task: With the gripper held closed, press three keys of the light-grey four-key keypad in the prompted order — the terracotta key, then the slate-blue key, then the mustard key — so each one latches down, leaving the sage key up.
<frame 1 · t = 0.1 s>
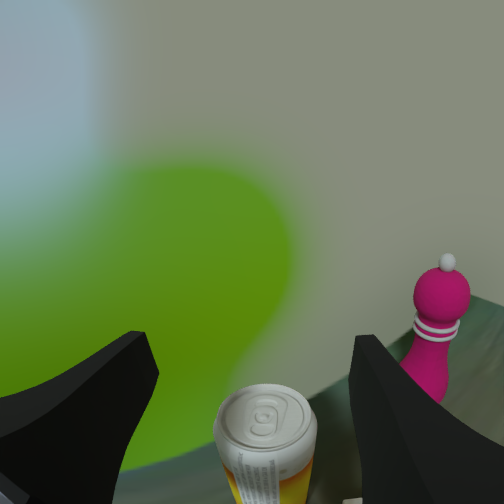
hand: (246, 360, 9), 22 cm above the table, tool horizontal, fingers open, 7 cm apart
pepper mill: (409, 411, 27), on the table
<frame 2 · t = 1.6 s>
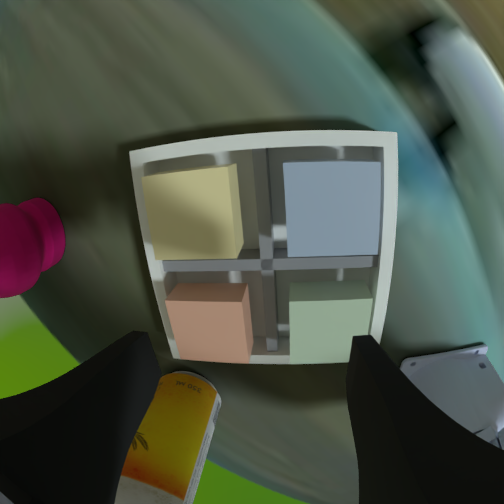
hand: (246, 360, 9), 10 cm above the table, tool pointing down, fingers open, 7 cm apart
sage key: (327, 323, 16), point 3 cm above the table, slide at 0.0 cm
keypad base: (269, 251, 18), on the table
slate-blue key: (331, 205, 14), point 3 cm above the table, slide at 0.0 cm
pepper mill: (44, 230, 21), on the table
mustard key: (194, 211, 15), point 3 cm above the table, slide at 0.0 cm
terracotta key: (212, 323, 17), point 3 cm above the table, slide at 0.0 cm
beer can: (191, 387, 25), on the table
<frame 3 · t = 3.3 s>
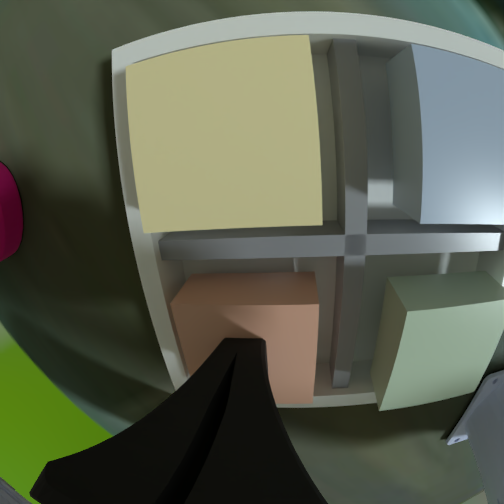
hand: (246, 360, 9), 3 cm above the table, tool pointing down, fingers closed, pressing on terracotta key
sage key: (439, 341, 9), point 3 cm above the table, slide at 0.0 cm
keypad base: (344, 226, 10), on the table
slate-blue key: (469, 139, 6), point 3 cm above the table, slide at 0.0 cm
pepper mill: (1, 207, 13), on the table
mustard key: (227, 134, 7), point 3 cm above the table, slide at 0.0 cm
terracotta key: (252, 341, 10), point 2 cm above the table, slide at 0.6 cm, touching gripper
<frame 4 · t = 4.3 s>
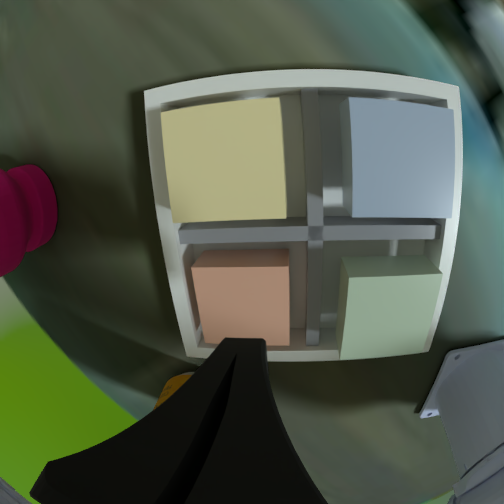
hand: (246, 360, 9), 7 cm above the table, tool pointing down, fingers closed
sage key: (385, 307, 13), point 3 cm above the table, slide at 0.0 cm
keypad base: (312, 221, 15), on the table
slate-blue key: (398, 157, 10), point 3 cm above the table, slide at 0.0 cm
pepper mill: (34, 204, 17), on the table
mustard key: (227, 160, 11), point 3 cm above the table, slide at 0.0 cm
terracotta key: (245, 298, 15), point 2 cm above the table, slide at 1.2 cm
beer can: (204, 391, 21), on the table
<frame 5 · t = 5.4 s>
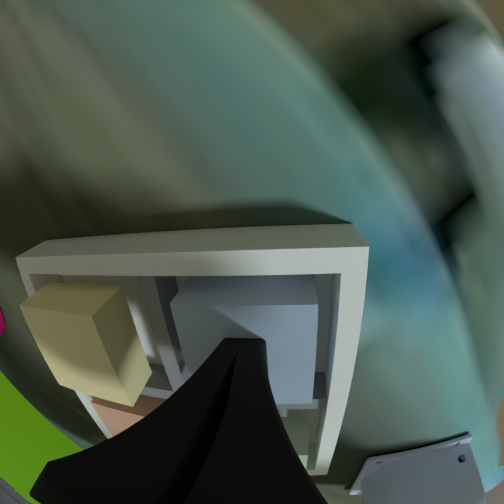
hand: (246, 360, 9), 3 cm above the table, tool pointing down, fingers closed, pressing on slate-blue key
sage key: (260, 456, 12), point 3 cm above the table, slide at 0.0 cm
keypad base: (193, 369, 14), on the table
slate-blue key: (251, 341, 10), point 2 cm above the table, slide at 1.1 cm, touching gripper
mustard key: (84, 342, 10), point 3 cm above the table, slide at 0.0 cm
terracotta key: (143, 421, 14), point 2 cm above the table, slide at 1.2 cm
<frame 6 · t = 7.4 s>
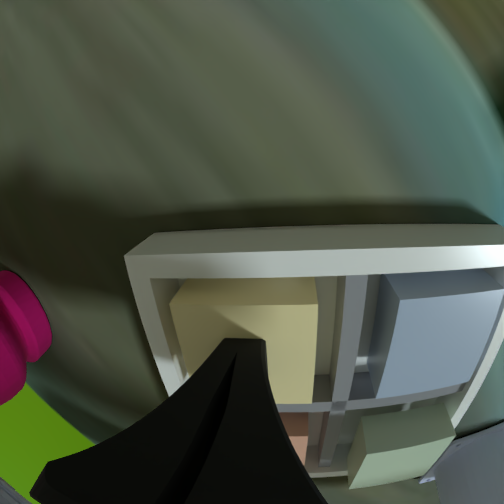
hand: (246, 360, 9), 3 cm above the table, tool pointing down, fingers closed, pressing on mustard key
sage key: (396, 450, 10), point 3 cm above the table, slide at 0.0 cm
keypad base: (335, 374, 12), on the table
slate-blue key: (432, 331, 9), point 2 cm above the table, slide at 1.2 cm
pepper mill: (24, 309, 15), on the table
mustard key: (251, 341, 10), point 2 cm above the table, slide at 1.2 cm, touching gripper
terracotta key: (262, 440, 13), point 2 cm above the table, slide at 1.2 cm
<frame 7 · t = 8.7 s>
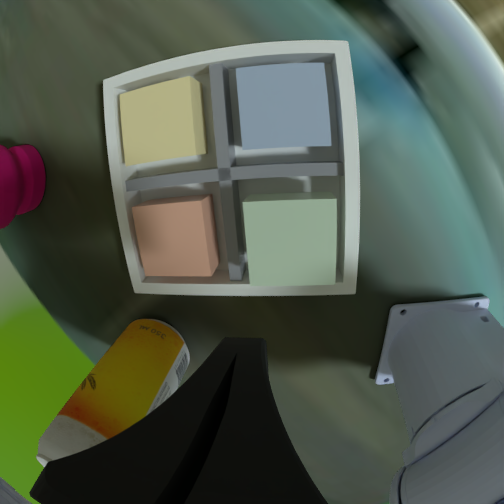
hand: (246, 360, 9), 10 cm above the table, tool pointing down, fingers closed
sage key: (291, 238, 15), point 3 cm above the table, slide at 0.0 cm
keypad base: (232, 171, 17), on the table
slate-blue key: (284, 107, 14), point 2 cm above the table, slide at 1.2 cm
pepper mill: (28, 177, 20), on the table
mustard key: (163, 122, 15), point 2 cm above the table, slide at 1.2 cm
terracotta key: (177, 235, 18), point 2 cm above the table, slide at 1.2 cm
beer can: (160, 341, 23), on the table
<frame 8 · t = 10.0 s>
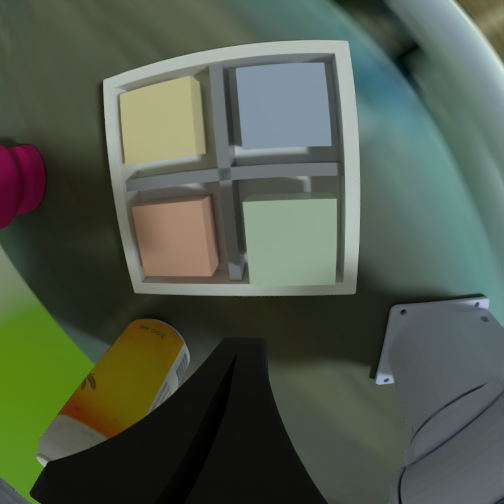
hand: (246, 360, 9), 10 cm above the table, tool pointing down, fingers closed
sage key: (291, 238, 15), point 3 cm above the table, slide at 0.0 cm
keypad base: (232, 171, 17), on the table
slate-blue key: (284, 107, 14), point 2 cm above the table, slide at 1.2 cm
pepper mill: (28, 177, 20), on the table
mustard key: (163, 122, 15), point 2 cm above the table, slide at 1.2 cm
terracotta key: (177, 235, 18), point 2 cm above the table, slide at 1.2 cm
beer can: (160, 341, 23), on the table
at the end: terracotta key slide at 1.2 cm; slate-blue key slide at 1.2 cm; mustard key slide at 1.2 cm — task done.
